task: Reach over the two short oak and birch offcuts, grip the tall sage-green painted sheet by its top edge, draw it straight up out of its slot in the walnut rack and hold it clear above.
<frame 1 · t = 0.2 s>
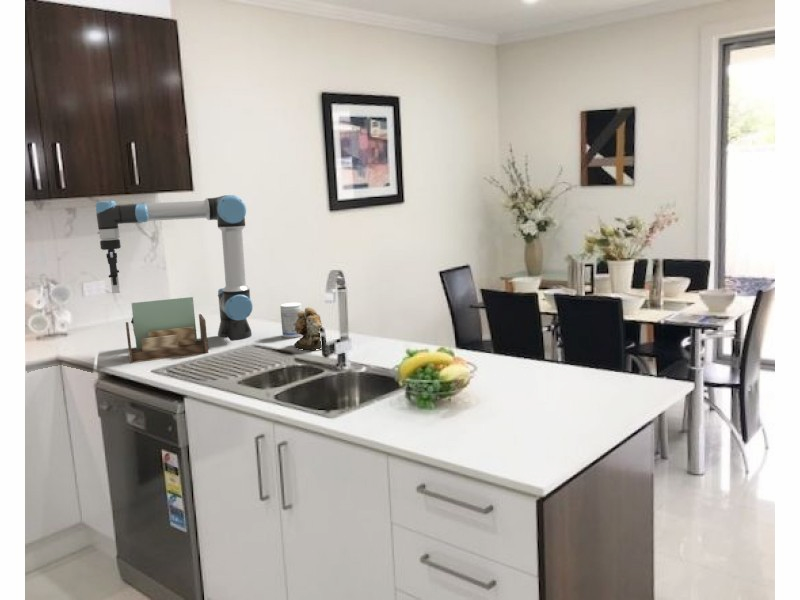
hand: (116, 290, 283), 28 cm above the worktop, fingers open, 13 cm apart
supplement tub: (293, 336, 314), on the worktop
sheet: (167, 352, 287), point 1 cm above the worktop, touching rack
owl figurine: (309, 347, 292), on the worktop
offcut oak: (173, 352, 285), point 1 cm above the worktop, touching rack
coffee cup: (146, 351, 297), on the worktop
rack: (169, 357, 283), on the worktop
offcut birch: (161, 356, 280), point 1 cm above the worktop, touching rack
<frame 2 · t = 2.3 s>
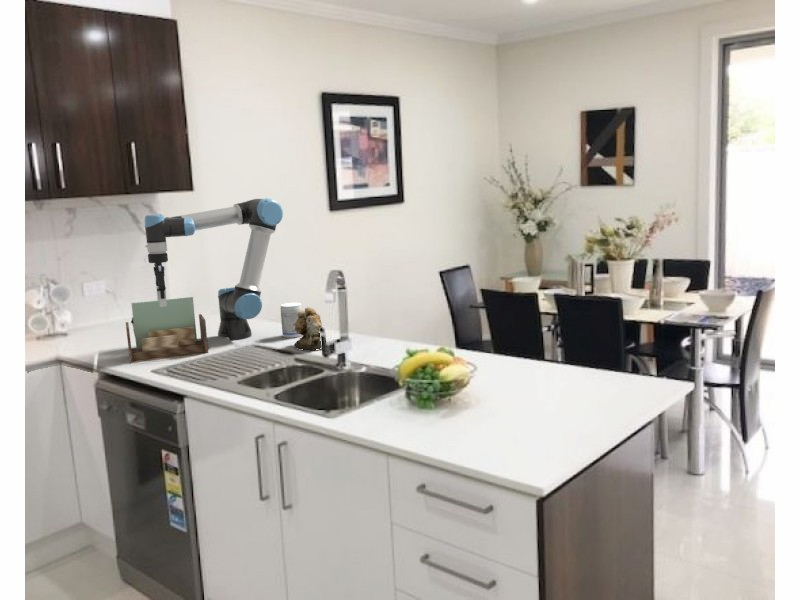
hand: (162, 304, 283), 22 cm above the worktop, fingers open, 13 cm apart
nothing on the worktop moved.
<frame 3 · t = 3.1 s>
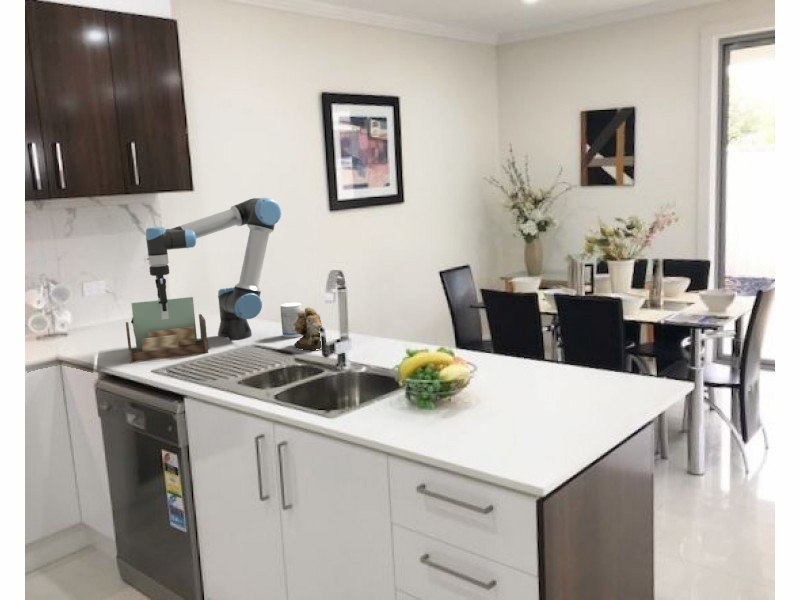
hand: (164, 316, 284), 17 cm above the worktop, fingers open, 13 cm apart
nothing on the worktop moved.
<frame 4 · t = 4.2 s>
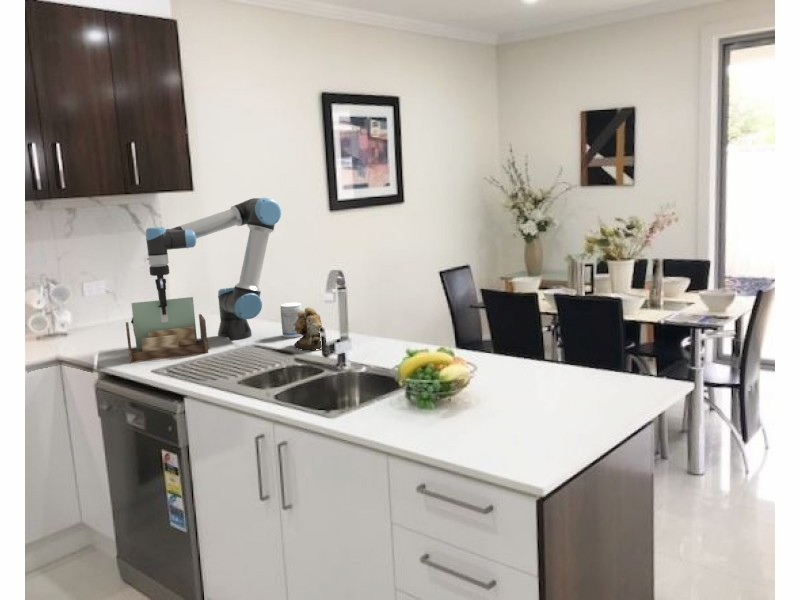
hand: (164, 321, 284), 14 cm above the worktop, fingers closed on sheet
sheet: (167, 352, 287), point 1 cm above the worktop, touching gripper, rack
everything else where it was.
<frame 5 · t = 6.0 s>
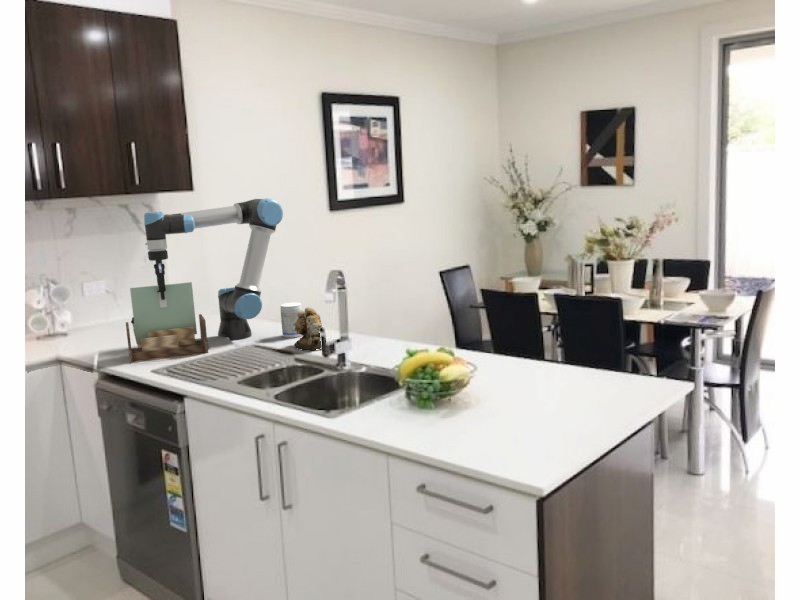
hand: (163, 306, 283), 21 cm above the worktop, fingers closed on sheet
sheet: (167, 337, 286), point 8 cm above the worktop, touching gripper
everything else where it was.
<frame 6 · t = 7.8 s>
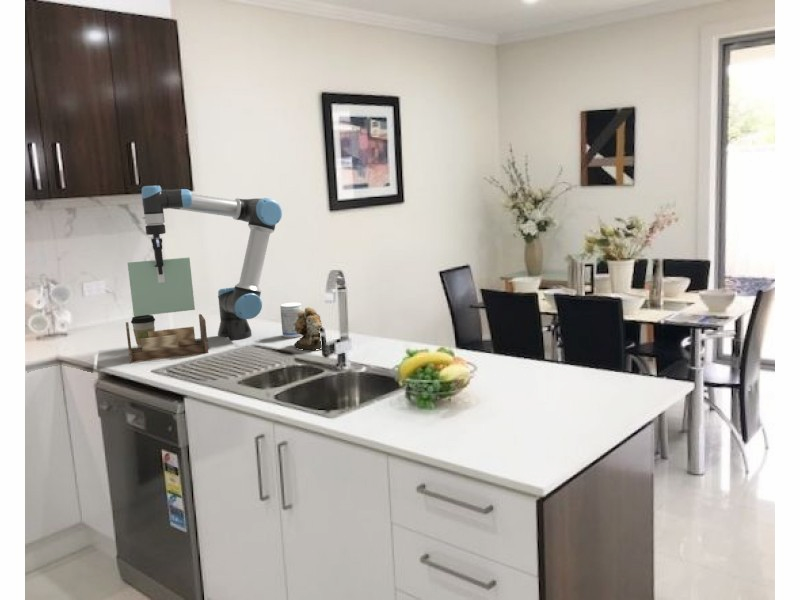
hand: (161, 281, 282), 31 cm above the worktop, fingers closed on sheet
sheet: (164, 312, 284), point 18 cm above the worktop, touching gripper
everything else where it was.
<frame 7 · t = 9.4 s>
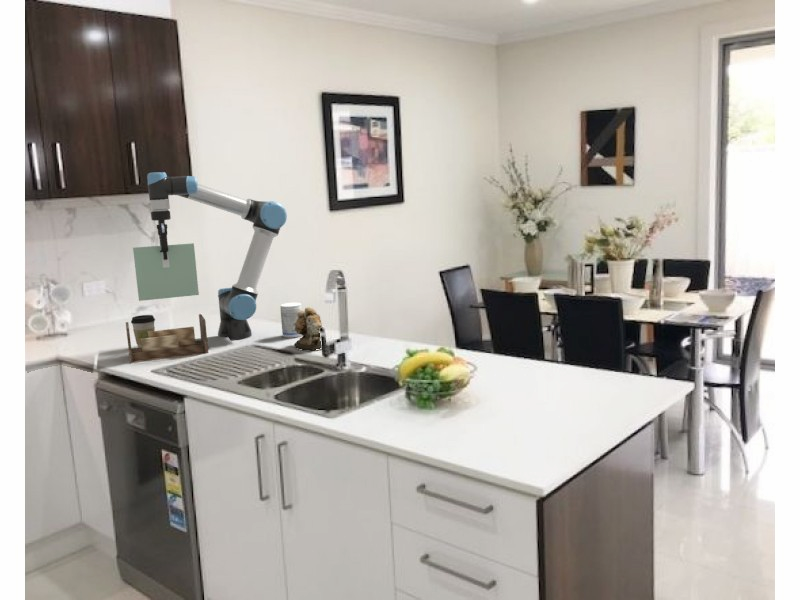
hand: (166, 267, 287), 36 cm above the worktop, fingers closed on sheet
sheet: (169, 297, 289), point 23 cm above the worktop, touching gripper
everything else where it was.
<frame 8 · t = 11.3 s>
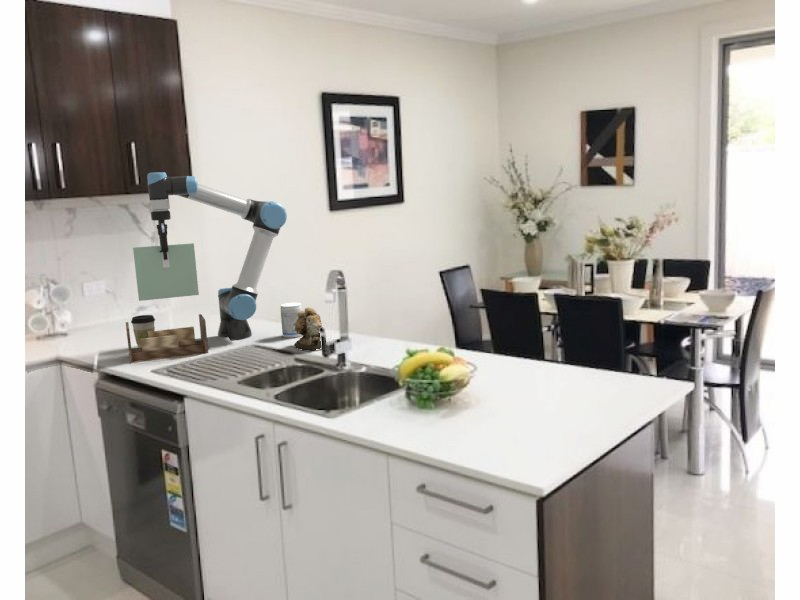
hand: (166, 267, 287), 36 cm above the worktop, fingers closed on sheet
sheet: (169, 297, 289), point 23 cm above the worktop, touching gripper
everything else where it was.
at the end: the gripper is holding sheet; sheet point 23.4 cm above the worktop; offcut oak moved 0.0 cm from its start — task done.
